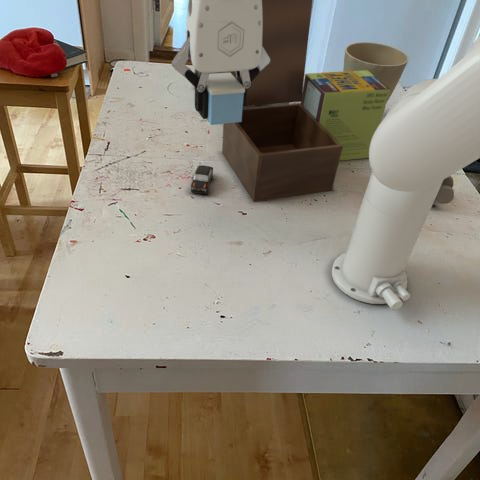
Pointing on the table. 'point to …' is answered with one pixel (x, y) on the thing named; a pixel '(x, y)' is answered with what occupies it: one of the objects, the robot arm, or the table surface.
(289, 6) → the lid
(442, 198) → the figurine character
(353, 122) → the protein box
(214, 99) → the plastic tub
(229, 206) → the table surface
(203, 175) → the toy car
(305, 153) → the chest
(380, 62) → the plant pot
